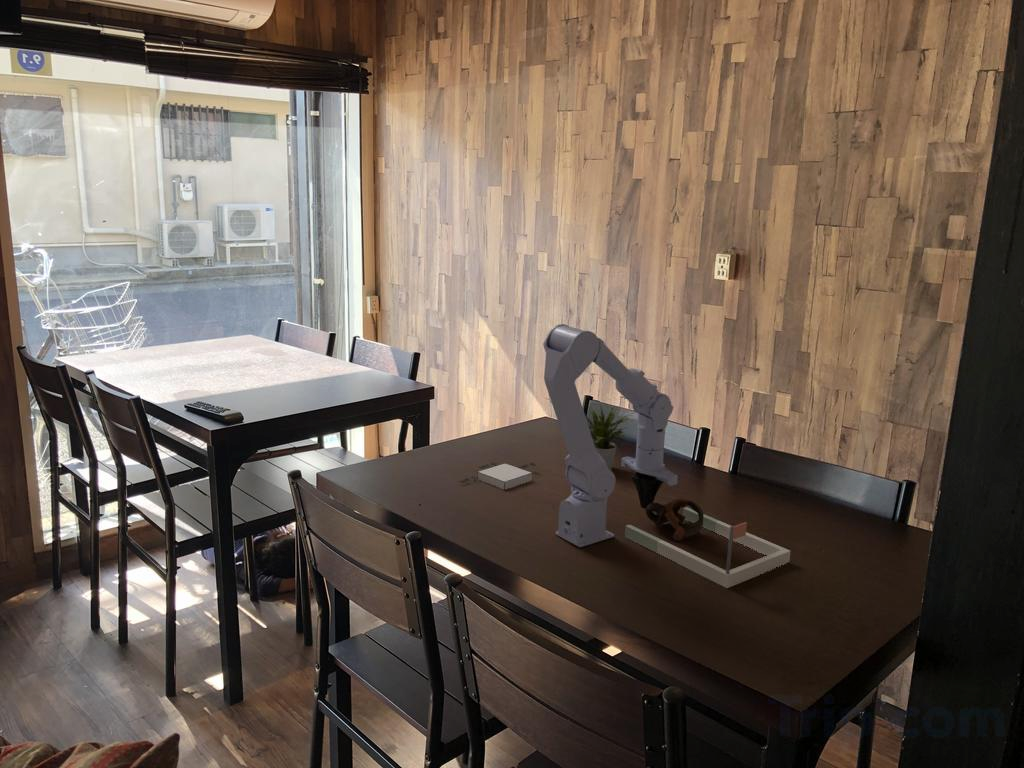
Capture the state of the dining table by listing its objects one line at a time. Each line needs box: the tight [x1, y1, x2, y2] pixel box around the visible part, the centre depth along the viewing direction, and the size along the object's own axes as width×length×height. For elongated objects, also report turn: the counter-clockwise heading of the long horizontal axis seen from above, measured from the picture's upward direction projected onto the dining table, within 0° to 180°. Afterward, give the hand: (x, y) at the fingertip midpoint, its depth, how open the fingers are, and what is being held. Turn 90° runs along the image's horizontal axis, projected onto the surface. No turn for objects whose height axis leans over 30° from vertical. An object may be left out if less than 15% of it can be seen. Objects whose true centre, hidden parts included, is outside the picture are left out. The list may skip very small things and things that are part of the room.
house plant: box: [585, 406, 632, 471], centre depth 202 cm, size 14×14×16 cm
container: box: [459, 462, 536, 491], centre depth 196 cm, size 20×12×3 cm, turn 135°
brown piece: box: [644, 497, 704, 542], centre depth 167 cm, size 12×10×8 cm
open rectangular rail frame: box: [624, 506, 791, 589], centre depth 158 cm, size 18×26×12 cm
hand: (646, 507), depth 172 cm, fingers closed
